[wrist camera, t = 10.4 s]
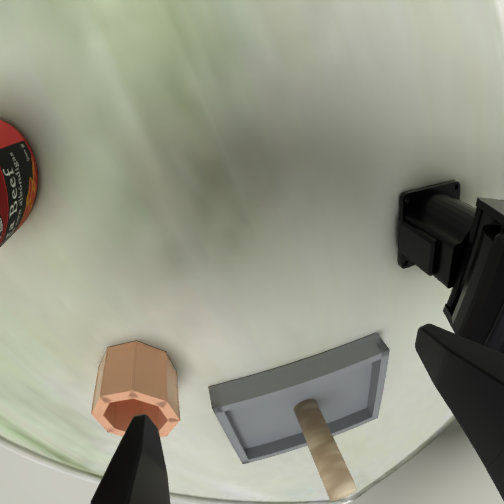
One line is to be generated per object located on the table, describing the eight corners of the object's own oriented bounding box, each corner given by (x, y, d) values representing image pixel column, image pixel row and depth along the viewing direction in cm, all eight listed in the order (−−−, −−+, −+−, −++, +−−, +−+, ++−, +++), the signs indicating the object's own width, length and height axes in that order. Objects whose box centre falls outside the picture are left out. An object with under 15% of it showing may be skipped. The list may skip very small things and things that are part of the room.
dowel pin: (316, 396, 29) (358, 484, 20) (317, 408, 30) (356, 492, 21) (292, 404, 29) (330, 495, 19) (294, 416, 30) (329, 502, 21)
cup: (158, 335, 23) (157, 384, 19) (183, 385, 26) (188, 432, 22) (88, 351, 22) (78, 399, 18) (121, 397, 25) (118, 443, 21)
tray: (376, 332, 28) (389, 349, 26) (368, 402, 34) (377, 417, 32) (208, 386, 27) (212, 408, 24) (238, 446, 32) (242, 464, 30)
